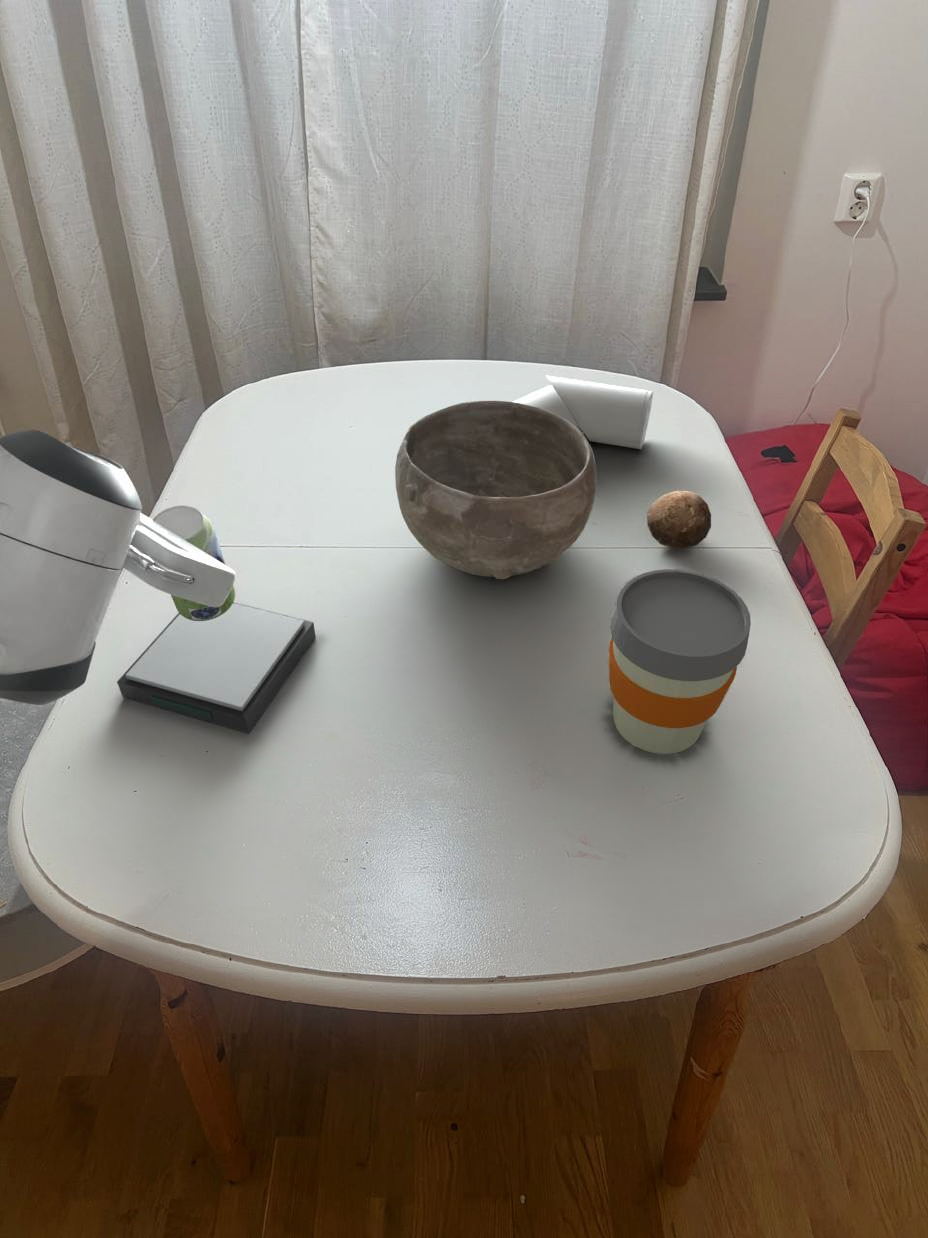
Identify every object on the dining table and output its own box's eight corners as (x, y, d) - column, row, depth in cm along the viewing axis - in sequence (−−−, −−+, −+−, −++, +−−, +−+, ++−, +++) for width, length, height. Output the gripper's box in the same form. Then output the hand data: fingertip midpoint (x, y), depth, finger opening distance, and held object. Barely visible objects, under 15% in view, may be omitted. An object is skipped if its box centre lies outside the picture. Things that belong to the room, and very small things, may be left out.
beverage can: (240, 586, 90) (218, 490, 82) (232, 633, 85) (208, 535, 77) (180, 590, 90) (152, 494, 82) (168, 637, 85) (137, 539, 77)
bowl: (479, 639, 96) (481, 531, 86) (358, 539, 110) (348, 436, 100) (625, 555, 108) (642, 452, 98) (498, 474, 121) (502, 376, 111)
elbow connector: (577, 391, 138) (487, 432, 128) (595, 334, 129) (500, 374, 119) (658, 454, 131) (570, 503, 121) (683, 398, 123) (590, 446, 113)
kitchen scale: (122, 698, 89) (114, 678, 87) (200, 608, 100) (195, 588, 98) (248, 734, 86) (243, 715, 84) (316, 637, 96) (313, 617, 94)
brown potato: (664, 487, 113) (677, 470, 107) (713, 522, 113) (729, 508, 106) (629, 532, 112) (640, 518, 106) (679, 569, 111) (692, 557, 105)
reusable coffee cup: (626, 781, 82) (649, 671, 72) (577, 689, 91) (592, 580, 80) (742, 752, 84) (781, 643, 74) (683, 665, 93) (711, 557, 83)
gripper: (173, 536, 66) (287, 574, 78) (35, 450, 76) (155, 495, 88) (139, 609, 67) (258, 635, 79) (6, 513, 76) (130, 550, 88)
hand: (203, 560), depth 83 cm, fingers closed on beverage can, 5 cm apart
